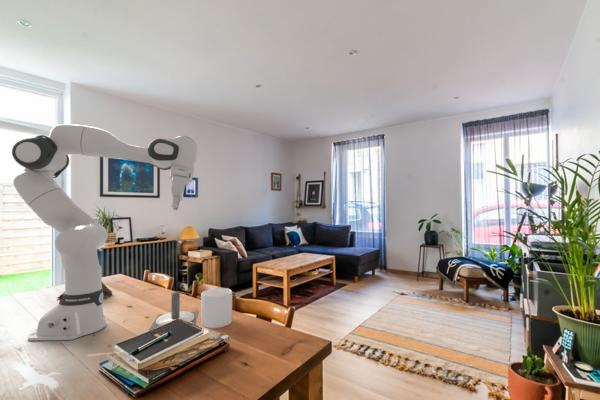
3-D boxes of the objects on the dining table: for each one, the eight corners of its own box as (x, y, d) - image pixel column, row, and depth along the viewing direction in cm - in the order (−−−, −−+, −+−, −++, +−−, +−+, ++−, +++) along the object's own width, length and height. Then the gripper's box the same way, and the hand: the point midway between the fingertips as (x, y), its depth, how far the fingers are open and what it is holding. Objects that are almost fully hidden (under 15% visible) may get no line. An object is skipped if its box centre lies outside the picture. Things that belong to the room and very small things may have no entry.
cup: (208, 331, 109) (209, 298, 109) (196, 322, 117) (196, 291, 117) (237, 323, 116) (237, 292, 116) (223, 314, 125) (223, 286, 125)
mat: (148, 331, 108) (148, 330, 108) (158, 315, 124) (158, 314, 124) (194, 327, 112) (194, 326, 112) (198, 312, 128) (198, 311, 128)
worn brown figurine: (90, 306, 141) (82, 271, 138) (83, 304, 144) (75, 270, 140) (114, 294, 151) (107, 261, 148) (108, 293, 154) (101, 260, 151)
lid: (151, 329, 110) (152, 299, 110) (160, 315, 123) (160, 288, 123) (191, 325, 113) (192, 296, 113) (195, 312, 126) (196, 286, 127)
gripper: (173, 178, 130) (167, 209, 127) (171, 168, 111) (164, 205, 108) (189, 181, 132) (183, 212, 130) (189, 172, 113) (182, 207, 111)
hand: (174, 208), depth 119 cm, fingers open, 8 cm apart
